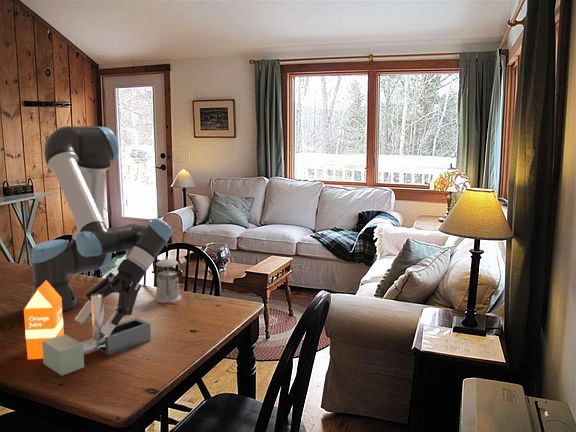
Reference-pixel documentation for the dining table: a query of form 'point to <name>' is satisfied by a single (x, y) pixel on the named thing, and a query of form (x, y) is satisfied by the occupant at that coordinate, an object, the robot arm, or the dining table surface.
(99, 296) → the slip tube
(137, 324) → the gray open box
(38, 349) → the orange juice
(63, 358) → the grey-green block
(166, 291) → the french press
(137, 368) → the dining table surface
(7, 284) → the dining table surface
